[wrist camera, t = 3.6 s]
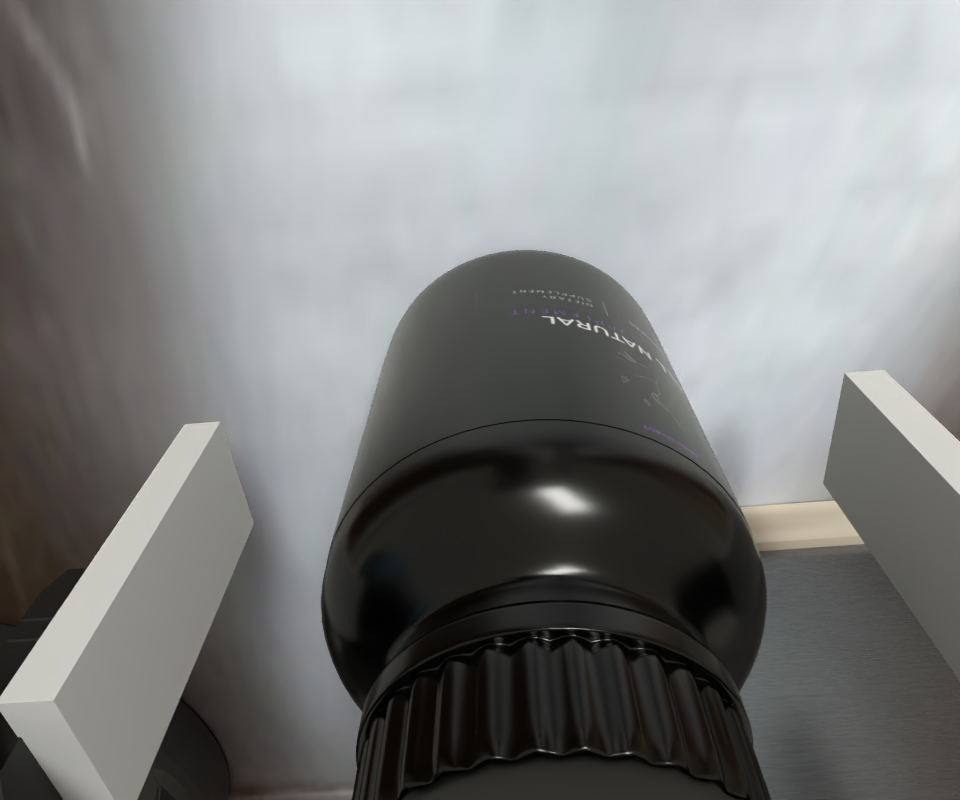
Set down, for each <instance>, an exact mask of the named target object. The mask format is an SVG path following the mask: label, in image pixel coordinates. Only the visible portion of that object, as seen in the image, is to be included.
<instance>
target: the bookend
mask: <svg viewBox="0 0 960 800" xmlns="http://www.w3.org/2000/svg"><path fill="white" fill-rule="evenodd" d="M759 554H760V557H761V560H762V563H763V567H764V573H765V579H766V586H767V613H766V621H765V628H764V634H763V638H762V641H761V645H760V649H759V652H758V655H757V658H756V660H755V663H754V665H753V668H752V670H751V672H750V674H749V676H748V678H747V680H746V682H745V684H744V685H743V687H742V689H741V690H740V692H739V693H740V696H741V699H742V701H743V704H744V707H745V710H746V713H747V715H748V718H749V722H750V725H751V729H752V734H753V749H754V751H755V754H756V757H757V760H758V763H759V766H760V768H761V771H762V774H763V777H764V780H765V783H766V786H767V789H768V791H769V794H770V797H771V800H960V681H959V679H958V678H957V676H956V675H955V673H954V672H953V671H952V669H951V668H950V666H949V665H948V663H947V662H946V660H945V659H944V657H943V656H942V655H941V653H940V652H939V650H938V649H937V647H936V646H935V644H934V643H933V642H932V640H931V639H930V637H929V636H928V634H927V633H926V631H925V630H924V629H923V627H922V626H921V624H920V623H919V621H918V620H917V618H916V617H915V616H914V614H913V613H912V611H911V610H910V608H909V607H908V605H907V604H906V602H905V601H904V600H903V598H902V597H901V595H900V594H899V592H898V591H897V589H896V588H895V587H894V585H893V584H892V582H891V581H890V579H889V578H888V576H887V575H886V574H885V572H884V571H883V569H882V568H881V566H880V565H879V563H878V562H877V561H876V559H875V558H874V556H873V555H872V553H871V552H870V550H869V549H868V547H867V546H866V545H865V544H857V545H842V546H828V547H813V548H799V549H784V550H770V551H759Z"/></svg>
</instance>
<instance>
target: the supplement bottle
mask: <svg viewBox="0 0 960 800" xmlns="http://www.w3.org/2000/svg"><path fill="white" fill-rule="evenodd" d="M321 611H322V624H323V630H324V635H325V640H326V643H327V647H328V650H329V653H330V656H331V659H332V662H333V664H334V666H335V668H336V671H337V673H338V675H339V677H340V679H341V681H342V683H343V685H344V686H345V688H346V690H347V691H348V693H349V694H350V696H351V698H352V699H353V701H354V702H355V703H356V705H357V706H358V707H359V708H360V710H361V711H362V717H361V722H360V727H359V732H358V738H357V746H356V762H357V774H356V780H355V786H354V791H353V797H352V800H771V797H770V794H769V791H768V789H767V786H766V783H765V780H764V777H763V774H762V771H761V768H760V766H759V763H758V760H757V757H756V754H755V751H754V749H753V734H752V729H751V725H750V722H749V718H748V715H747V713H746V710H745V707H744V704H743V701H742V699H741V696H740V693H739V692H740V690H741V689H742V687H743V685H744V684H745V682H746V680H747V678H748V676H749V674H750V672H751V670H752V668H753V665H754V663H755V660H756V658H757V655H758V652H759V649H760V645H761V641H762V638H763V634H764V628H765V621H766V613H767V586H766V579H765V573H764V567H763V563H762V560H761V557H760V554H759V551H758V548H757V545H756V542H755V540H754V538H753V536H752V532H751V530H750V528H749V525H748V523H747V521H746V519H745V517H744V515H743V512H742V510H741V508H740V506H739V504H738V502H737V500H736V498H735V496H734V494H733V492H732V489H731V487H730V485H729V483H728V481H727V479H726V477H725V475H724V473H723V471H722V469H721V467H720V465H719V463H718V461H717V459H716V456H715V454H714V452H713V450H712V448H711V446H710V444H709V442H708V440H707V438H706V436H705V434H704V432H703V430H702V428H701V426H700V423H699V421H698V419H697V417H696V415H695V413H694V411H693V409H692V407H691V405H690V403H689V401H688V399H687V397H686V395H685V393H684V390H683V388H682V386H681V384H680V382H679V380H678V378H677V376H676V374H675V372H674V370H673V368H672V366H671V364H670V362H669V360H668V358H667V355H666V353H665V351H664V349H663V347H662V345H661V343H660V341H659V339H658V337H657V335H656V333H655V332H654V330H653V328H652V326H651V324H650V322H649V320H648V319H647V317H646V315H645V314H644V312H643V310H642V309H641V308H640V306H639V305H638V304H637V302H636V301H635V300H634V299H633V297H632V296H631V295H630V294H629V293H628V292H627V291H626V290H625V289H624V288H623V287H622V286H621V285H620V284H619V283H618V282H616V281H615V280H614V279H613V278H612V277H610V276H609V275H607V274H605V273H604V272H602V271H601V270H599V269H597V268H595V267H594V266H592V265H590V264H588V263H585V262H583V261H580V260H578V259H575V258H572V257H569V256H565V255H562V254H557V253H552V252H546V251H535V250H515V251H506V252H499V253H494V254H489V255H486V256H483V257H479V258H476V259H473V260H471V261H469V262H466V263H464V264H461V265H460V266H458V267H456V268H454V269H452V270H450V271H448V272H447V273H445V274H444V275H442V276H441V277H439V278H438V279H436V280H435V281H434V282H433V283H432V284H430V285H429V286H428V287H427V288H426V289H425V290H424V291H423V292H422V293H421V294H420V295H419V296H418V297H417V298H416V299H415V300H414V302H413V303H412V304H411V305H410V307H409V308H408V310H407V311H406V313H405V314H404V316H403V317H402V319H401V321H400V323H399V325H398V327H397V329H396V331H395V333H394V335H393V338H392V341H391V344H390V347H389V350H388V353H387V356H386V358H385V361H384V365H383V368H382V371H381V375H380V378H379V382H378V385H377V388H376V392H375V395H374V399H373V402H372V406H371V409H370V412H369V416H368V419H367V423H366V426H365V430H364V433H363V436H362V440H361V443H360V447H359V450H358V453H357V457H356V460H355V464H354V467H353V471H352V474H351V477H350V481H349V484H348V488H347V491H346V495H345V498H344V501H343V505H342V508H341V512H340V515H339V519H338V522H337V525H336V529H335V532H334V536H333V539H332V543H331V547H330V551H329V555H328V559H327V565H326V569H325V573H324V578H323V584H322V594H321Z"/></svg>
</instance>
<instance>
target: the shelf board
mask: <svg viewBox="0 0 960 800" xmlns="http://www.w3.org/2000/svg"><path fill="white" fill-rule="evenodd" d="M740 508H741V510H742V512H743V515H744V517H745V519H746V521H747V523H748V525H749V528H750V530H751V532H752V536H753V538H754V540H755V542H756V545H757V548H758V551H770V550H784V549H799V548H813V547H828V546H842V545H857V544H865V543H864V542H863V540H862V539H861V537H860V536H859V534H858V533H857V532H856V530H855V529H854V527H853V526H852V524H851V523H850V521H849V520H848V519H847V517H846V516H845V514H844V513H843V511H842V510H841V508H840V507H839V506H838V504H837V503H836V501H822V502H808V503H794V504H780V505H766V506H752V507H740Z"/></svg>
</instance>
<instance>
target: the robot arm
mask: <svg viewBox="0 0 960 800" xmlns="http://www.w3.org/2000/svg"><path fill="white" fill-rule="evenodd" d="M823 484H824V485H825V487H826V488H827V490H828V491H829V492H830V494H831V495H832V497H833V498H834V500H835V501H836V503H837V504H838V506H839V507H840V508H841V510H842V511H843V513H844V514H845V516H846V517H847V519H848V520H849V521H850V523H851V524H852V526H853V527H854V529H855V530H856V532H857V533H858V534H859V536H860V537H861V539H862V540H863V542H864V543H865V545H866V546H867V547H868V549H869V550H870V552H871V553H872V555H873V556H874V558H875V559H876V561H877V562H878V563H879V565H880V566H881V568H882V569H883V571H884V572H885V574H886V575H887V576H888V578H889V579H890V581H891V582H892V584H893V585H894V587H895V588H896V589H897V591H898V592H899V594H900V595H901V597H902V598H903V600H904V601H905V602H906V604H907V605H908V607H909V608H910V610H911V611H912V613H913V614H914V616H915V617H916V618H917V620H918V621H919V623H920V624H921V626H922V627H923V629H924V630H925V631H926V633H927V634H928V636H929V637H930V639H931V640H932V642H933V643H934V644H935V646H936V647H937V649H938V650H939V652H940V653H941V655H942V656H943V657H944V659H945V660H946V662H947V663H948V665H949V666H950V668H951V669H952V671H953V672H954V673H955V675H956V676H957V678H958V679H959V681H960V442H959V441H958V440H957V439H956V438H955V437H954V436H953V435H952V434H951V433H950V432H949V431H948V430H947V429H946V428H945V427H944V426H942V425H941V424H940V423H939V422H938V421H937V420H936V419H935V418H934V417H933V416H932V415H931V414H930V413H929V412H928V411H927V410H926V409H925V408H923V407H922V406H921V405H920V404H919V403H918V402H917V401H916V400H915V399H914V398H913V397H912V396H911V395H910V394H909V393H908V392H907V391H906V390H904V389H903V388H902V387H901V386H900V385H899V384H898V383H897V382H896V381H895V380H894V379H893V378H892V377H891V376H890V375H889V374H888V373H887V372H886V371H884V370H876V371H864V372H851V373H845V374H844V379H843V384H842V389H841V394H840V399H839V404H838V410H837V415H836V420H835V425H834V430H833V435H832V441H831V446H830V451H829V456H828V461H827V466H826V471H825V477H824V482H823ZM253 525H254V522H253V519H252V516H251V513H250V510H249V507H248V504H247V501H246V498H245V495H244V492H243V489H242V486H241V483H240V479H239V476H238V473H237V470H236V467H235V464H234V461H233V458H232V455H231V452H230V449H229V446H228V443H227V440H226V437H225V434H224V431H223V428H222V425H221V422H209V423H196V424H185V425H184V426H183V427H182V429H181V430H180V432H179V433H178V435H177V436H176V438H175V439H174V441H173V442H172V444H171V445H170V447H169V448H168V450H167V451H166V453H165V454H164V456H163V457H162V458H161V460H160V461H159V463H158V464H157V466H156V467H155V469H154V470H153V472H152V473H151V475H150V476H149V478H148V479H147V481H146V482H145V484H144V485H143V487H142V488H141V489H140V491H139V492H138V494H137V495H136V497H135V498H134V500H133V501H132V503H131V504H130V506H129V507H128V509H127V510H126V512H125V513H124V515H123V516H122V518H121V519H120V520H119V522H118V523H117V525H116V526H115V528H114V529H113V531H112V532H111V534H110V535H109V537H108V538H107V540H106V541H105V543H104V544H103V546H102V547H101V548H100V550H99V551H98V553H97V554H96V556H95V557H94V559H93V560H92V562H91V563H90V565H89V566H88V568H84V569H70V570H67V571H66V572H65V573H64V574H62V575H61V576H60V577H59V578H58V579H56V580H55V581H54V582H53V583H52V584H50V585H49V586H48V587H47V588H46V589H44V590H43V591H42V592H41V593H40V594H39V596H38V597H37V598H36V600H35V601H34V602H33V604H32V605H31V607H30V608H29V609H28V611H27V612H26V614H25V615H24V616H23V621H22V623H18V625H17V626H16V627H13V626H8V625H2V624H0V800H228V795H229V774H228V769H227V765H226V762H225V759H224V756H223V754H222V752H221V749H220V747H219V746H218V744H217V742H216V740H215V739H214V737H213V736H212V734H211V733H210V731H209V730H208V729H207V727H206V726H205V725H204V724H203V723H202V721H201V720H200V719H199V718H198V717H197V716H196V715H195V714H194V713H193V712H192V711H191V710H190V709H189V708H188V707H187V706H186V705H185V704H184V703H183V702H181V701H180V697H181V695H182V693H183V690H184V688H185V686H186V683H187V681H188V679H189V676H190V674H191V671H192V669H193V667H194V664H195V662H196V660H197V657H198V655H199V653H200V650H201V648H202V645H203V643H204V641H205V638H206V636H207V634H208V631H209V629H210V627H211V624H212V622H213V619H214V617H215V615H216V612H217V610H218V608H219V605H220V603H221V600H222V598H223V596H224V593H225V591H226V589H227V586H228V584H229V582H230V579H231V577H232V574H233V572H234V570H235V567H236V565H237V563H238V560H239V558H240V556H241V553H242V551H243V548H244V546H245V544H246V541H247V539H248V537H249V534H250V532H251V530H252V527H253Z"/></svg>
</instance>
